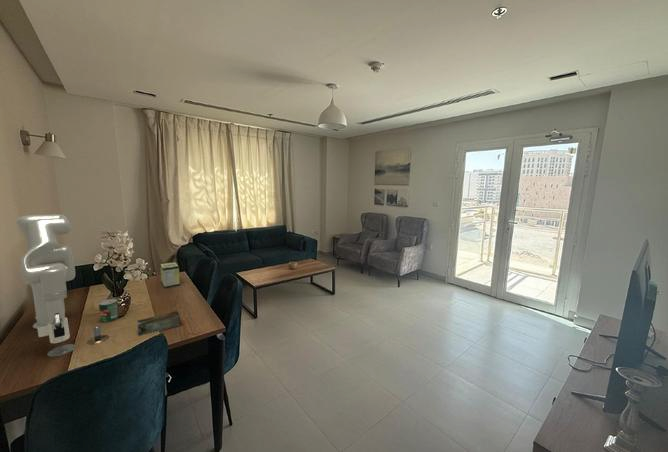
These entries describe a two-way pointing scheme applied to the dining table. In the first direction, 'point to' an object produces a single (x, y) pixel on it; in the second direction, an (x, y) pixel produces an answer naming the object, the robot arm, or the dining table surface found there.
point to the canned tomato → (108, 310)
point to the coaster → (61, 350)
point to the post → (97, 336)
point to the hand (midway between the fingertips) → (59, 333)
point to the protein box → (170, 275)
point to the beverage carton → (158, 323)
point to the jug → (50, 331)
